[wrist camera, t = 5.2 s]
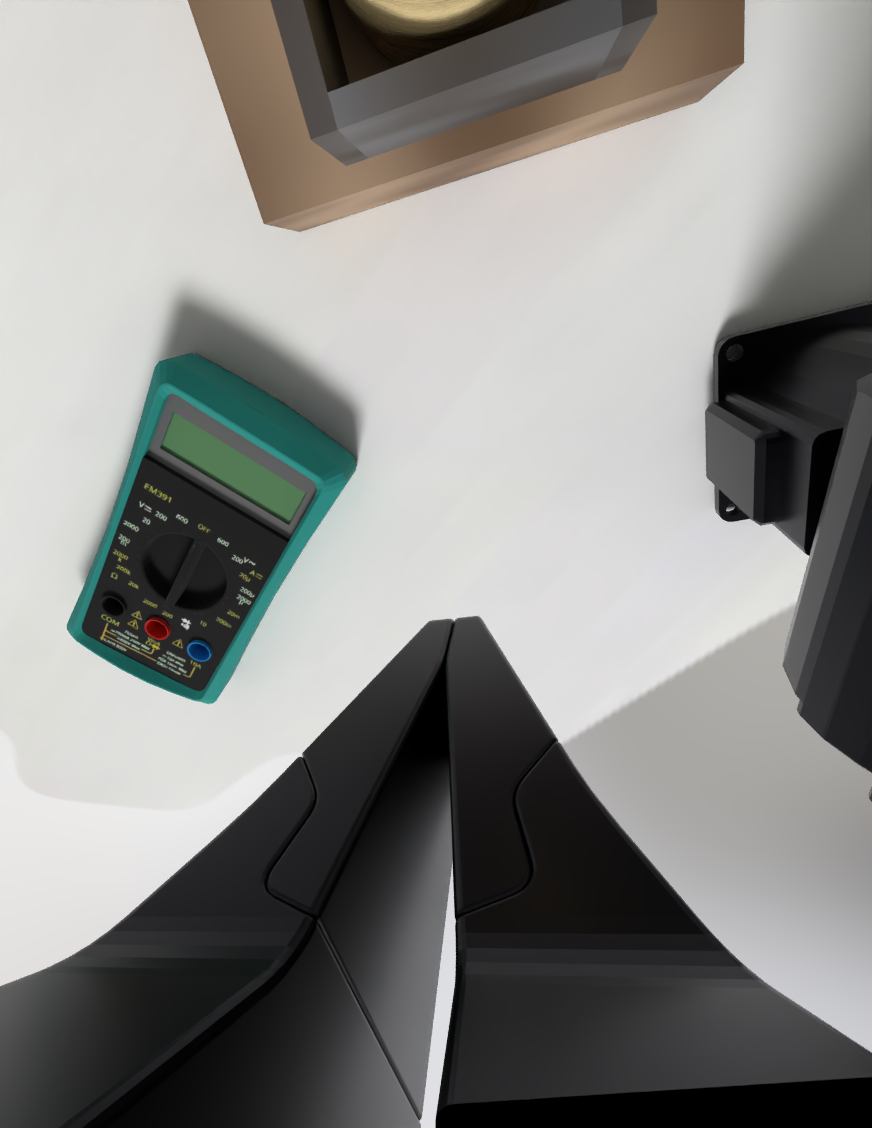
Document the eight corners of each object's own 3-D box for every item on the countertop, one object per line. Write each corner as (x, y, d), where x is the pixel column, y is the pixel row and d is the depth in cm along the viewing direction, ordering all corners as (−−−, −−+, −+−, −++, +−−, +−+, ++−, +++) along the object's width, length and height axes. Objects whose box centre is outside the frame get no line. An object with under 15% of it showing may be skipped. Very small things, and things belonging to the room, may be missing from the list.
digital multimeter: (93, 611, 26) (49, 649, 23) (194, 340, 19) (149, 350, 17) (229, 681, 27) (202, 723, 25) (367, 451, 21) (350, 477, 18)
